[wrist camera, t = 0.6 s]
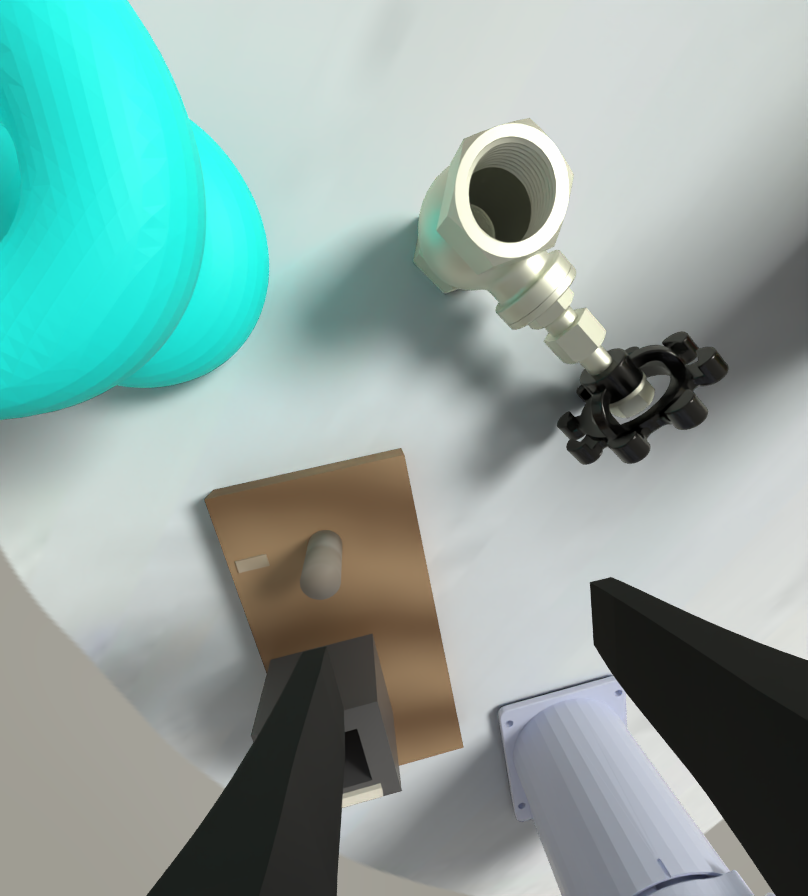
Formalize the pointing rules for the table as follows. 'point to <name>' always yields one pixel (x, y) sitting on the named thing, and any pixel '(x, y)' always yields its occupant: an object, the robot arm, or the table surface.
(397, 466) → the board
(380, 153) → the table surface
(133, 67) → the donuts
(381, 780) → the square tube section
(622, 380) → the valve
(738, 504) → the table surface
